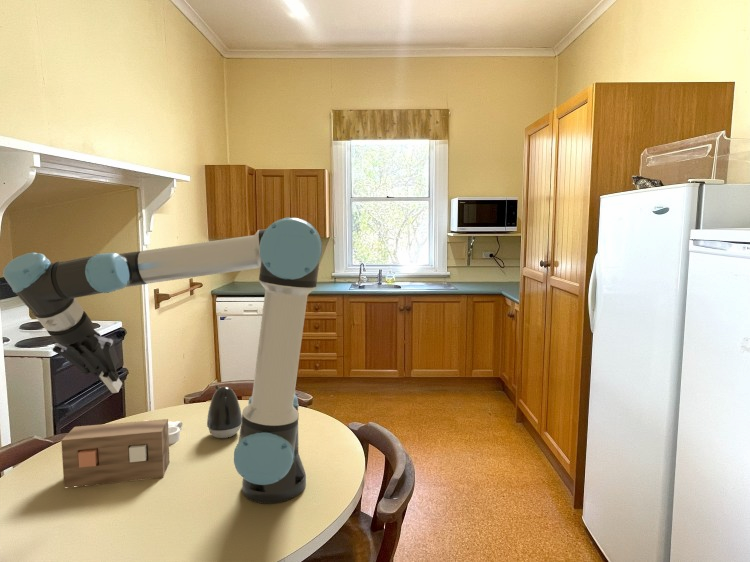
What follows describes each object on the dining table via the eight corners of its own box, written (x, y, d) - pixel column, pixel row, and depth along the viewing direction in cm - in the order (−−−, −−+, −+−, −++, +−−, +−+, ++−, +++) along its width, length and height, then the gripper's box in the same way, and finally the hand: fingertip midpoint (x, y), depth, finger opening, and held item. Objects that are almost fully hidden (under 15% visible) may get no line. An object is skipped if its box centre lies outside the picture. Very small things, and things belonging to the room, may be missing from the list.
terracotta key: (95, 465, 109) (95, 451, 109) (79, 467, 108) (78, 453, 108) (102, 456, 114) (102, 442, 114) (86, 457, 113) (86, 444, 113)
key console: (163, 477, 114) (161, 431, 113) (64, 488, 109) (61, 440, 108) (169, 462, 122) (167, 418, 121) (77, 471, 116) (74, 426, 115)
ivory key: (145, 460, 112) (145, 446, 112) (129, 462, 111) (129, 448, 111) (150, 451, 117) (149, 438, 116) (135, 453, 116) (134, 439, 115)
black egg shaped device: (232, 424, 146) (231, 379, 145) (248, 435, 139) (247, 386, 137) (201, 434, 139) (200, 386, 138) (216, 445, 132) (215, 394, 130)
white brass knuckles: (192, 429, 144) (169, 450, 129) (137, 427, 145) (108, 448, 130) (192, 419, 143) (168, 439, 129) (137, 417, 144) (107, 437, 130)
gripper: (24, 336, 91) (83, 403, 107) (87, 330, 91) (138, 399, 106) (44, 310, 97) (97, 377, 112) (103, 305, 97) (149, 373, 112)
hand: (117, 388), depth 109 cm, fingers closed
